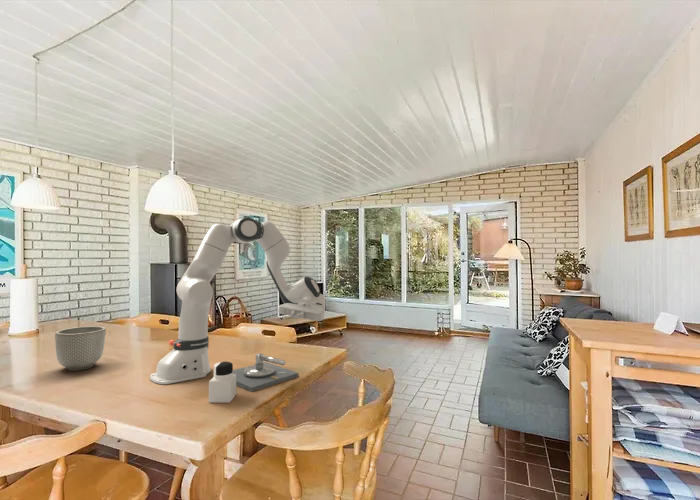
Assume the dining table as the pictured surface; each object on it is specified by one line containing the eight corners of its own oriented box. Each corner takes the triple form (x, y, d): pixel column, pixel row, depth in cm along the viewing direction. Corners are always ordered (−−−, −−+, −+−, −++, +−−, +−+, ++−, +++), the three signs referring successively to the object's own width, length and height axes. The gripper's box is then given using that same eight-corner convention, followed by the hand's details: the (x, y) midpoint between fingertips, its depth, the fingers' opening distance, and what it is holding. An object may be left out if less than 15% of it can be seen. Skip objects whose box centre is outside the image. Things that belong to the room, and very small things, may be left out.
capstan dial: (237, 373, 142) (237, 355, 142) (260, 366, 152) (260, 348, 152) (273, 384, 131) (273, 364, 131) (295, 375, 140) (295, 356, 141)
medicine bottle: (236, 394, 125) (236, 360, 125) (230, 402, 118) (230, 366, 118) (215, 394, 125) (216, 359, 125) (208, 403, 118) (208, 366, 118)
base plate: (251, 391, 128) (251, 387, 128) (219, 377, 142) (219, 373, 142) (298, 376, 144) (298, 372, 145) (265, 365, 159) (265, 361, 159)
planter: (114, 363, 158) (115, 327, 158) (75, 376, 142) (76, 335, 142) (84, 360, 163) (85, 324, 163) (43, 372, 146) (44, 332, 146)
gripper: (286, 298, 167) (272, 305, 154) (328, 305, 161) (316, 313, 148) (285, 311, 167) (271, 319, 154) (326, 319, 162) (315, 328, 149)
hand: (293, 316), depth 151 cm, fingers closed
